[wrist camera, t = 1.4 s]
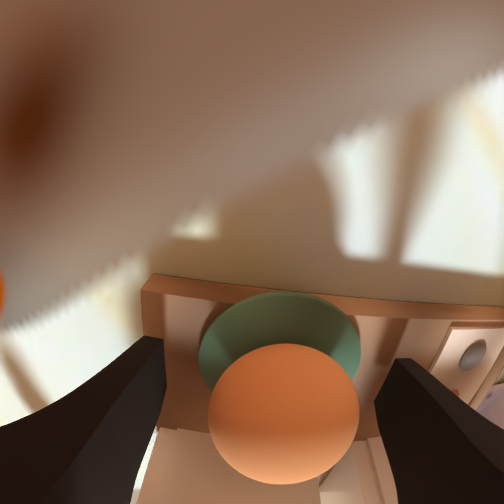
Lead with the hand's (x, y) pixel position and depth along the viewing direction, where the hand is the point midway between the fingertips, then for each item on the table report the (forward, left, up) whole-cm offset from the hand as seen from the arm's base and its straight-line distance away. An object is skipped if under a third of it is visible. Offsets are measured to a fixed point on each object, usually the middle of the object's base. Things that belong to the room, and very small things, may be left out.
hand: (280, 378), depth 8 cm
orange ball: (0, 0, -1) cm, 1 cm away
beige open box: (+1, +8, -1) cm, 8 cm away
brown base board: (-4, +5, -2) cm, 6 cm away
